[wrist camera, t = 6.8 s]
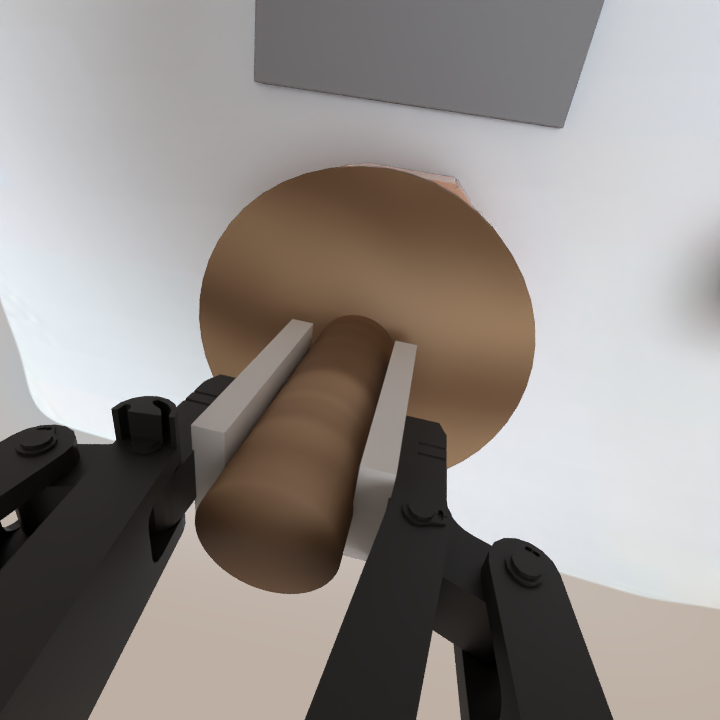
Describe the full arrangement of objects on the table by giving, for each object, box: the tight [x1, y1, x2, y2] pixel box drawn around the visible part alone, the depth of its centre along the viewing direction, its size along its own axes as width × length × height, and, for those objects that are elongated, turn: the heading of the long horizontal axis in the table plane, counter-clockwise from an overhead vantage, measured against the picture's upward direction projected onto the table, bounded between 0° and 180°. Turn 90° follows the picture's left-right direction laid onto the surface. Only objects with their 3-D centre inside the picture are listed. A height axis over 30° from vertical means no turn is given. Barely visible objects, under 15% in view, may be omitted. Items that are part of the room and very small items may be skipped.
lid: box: [195, 166, 535, 594], centre depth 13 cm, size 13×13×10 cm
